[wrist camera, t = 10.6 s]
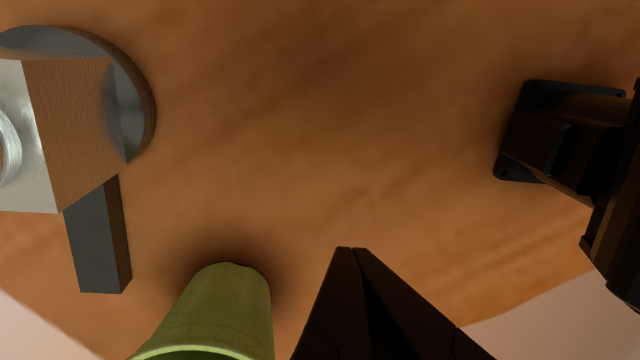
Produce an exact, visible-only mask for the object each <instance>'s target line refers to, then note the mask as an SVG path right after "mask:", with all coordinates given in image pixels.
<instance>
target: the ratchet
mask: <svg viewBox="0 0 640 360" xmlns="http://www.w3.org/2000/svg"><path fill="white" fill-rule="evenodd" d="M0 46H3V47H13V48H23V49H33V50H44V51H54V52H64V53H74V54H85V55H95V56H105V57H112V64H113V71H114V78H115V85H116V92H117V99H118V106H119V113H120V120H121V127H122V134H123V141H124V148H125V155H126V162H127V164H129V163H130V162H132V161H133V160H135V159H136V158H137V157H139V156H140V155H141V154H142V153H143V152H144V151H145V150H146V148H147V147H148V145H149V144H150V142H151V140H152V138H153V135H154V132H155V128H156V106H155V101H154V97H153V94H152V91H151V89H150V86H149V84H148V82H147V80H146V79H145V77H144V75H143V74H142V72H141V71H140V69H139V68H138V67H137V65H136V64H135V63H134V62H133V61H132V60H131V59H130V58H129V57H128V56H127V55H126V54H125V53H124V52H123V51H122V50H120V49H119V48H118V47H116V46H115V45H114V44H112V43H110V42H109V41H107V40H105V39H104V38H102V37H99V36H97V35H95V34H92V33H89V32H86V31H83V30H78V29H72V28H62V27H52V26H39V25H28V26H19V27H15V28H11V29H8V30H6V31H4V32H1V33H0ZM63 215H64V220H65V224H66V229H67V233H68V238H69V242H70V247H71V251H72V256H73V260H74V265H75V269H76V274H77V278H78V283H79V287H80V292H85V293H109V294H121V293H122V292H123V291H124V289H125V288H126V286H127V285H128V284H129V282H130V281H131V280H132V272H131V265H130V258H129V250H128V243H127V236H126V229H125V222H124V215H123V208H122V201H121V194H120V187H119V180H118V173H117V174H116V175H114V176H113V177H111V178H110V179H108V180H107V181H106V182H104V183H103V184H101V185H100V186H98V187H97V188H95V189H94V190H92V191H91V192H89V193H88V194H86V195H85V196H83V197H82V198H80V199H79V200H77V201H76V202H75V203H73V204H72V205H70V206H69V207H67V208H66V209H64V210H63Z"/></svg>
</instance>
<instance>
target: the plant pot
mask: <svg viewBox="0 0 640 360" xmlns="http://www.w3.org/2000/svg"><path fill="white" fill-rule="evenodd" d="M126 360H275V351H274V339H273V325H272V311H271V299H270V290H269V287H268V284H267V282H266V280H265V279H264V278H263V277H262V275H260V274H259V273H258V272H257V271H256V270H254V269H253V268H250V267H243V266H239V265H236V264H233V263H231V262H220V263H215V264H212V265H209V266H207V267H205V268H203V269H202V270H200V271H199V272H198V273H196V274H195V275H194V277H193V278H192V279H191V281H190V282H189V284H188V285H187V287H186V288H185V290H184V291H183V293H182V294H181V295H180V297H179V298H178V300H177V301H176V302H175V304H174V305H173V307H172V308H171V310H170V311H169V312H168V314H167V315H166V317H165V318H164V319H163V321H162V322H161V324H160V325H159V326H158V328H157V329H156V331H155V332H154V333H153V335H152V336H151V338H150V339H149V340H147V341H146V342H145V343H144V344H143V345H142V346H141V347H140V348H139V349H138V350H137V351H136V352H135V354H133V355H132V356H130V357H128V358H127V359H126Z"/></svg>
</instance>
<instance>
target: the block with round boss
mask: <svg viewBox="0 0 640 360" xmlns="http://www.w3.org/2000/svg"><path fill="white" fill-rule="evenodd" d="M126 167H127V162H126V155H125V148H124V141H123V134H122V127H121V120H120V113H119V106H118V99H117V92H116V85H115V78H114V71H113V64H112V57H105V56H95V55H85V54H74V53H64V52H54V51H44V50H33V49H23V48H13V47H3V46H0V210H1V211H20V212H38V213H57V214H58V213H60V212H61V211H63V210H64V209H66V208H67V207H69V206H70V205H72V204H73V203H75V202H76V201H77V200H79V199H80V198H82V197H83V196H85V195H86V194H88V193H89V192H91V191H92V190H94V189H95V188H97V187H98V186H100V185H101V184H103V183H104V182H106V181H107V180H108V179H110V178H111V177H113V176H114V175H116V174H117V173H119V172H120V171H122V170H123V169H125V168H126Z"/></svg>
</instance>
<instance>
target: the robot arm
mask: <svg viewBox="0 0 640 360" xmlns="http://www.w3.org/2000/svg"><path fill="white" fill-rule="evenodd" d="M533 84H534V89H533V90H532V91H531V90H530V89H531V86H532V85H533ZM633 90H636V91H635V94H634V97H633V99H627V98H625V97H626V92H625V91H624V90H622V89H616V88H608V87H600V86H591V85H583V84H575V83H566V82H558V81H550V80H541V79H529V80H527V81H526V82H525V83H524V85H523V87H522V89H521V92H520V95H519V98H518V101H517V104H516V107H515V110H514V113H513V114H512V117H511V120H510V123H509V125H508V128H507V131H506V134H505V137H504V140H503V143H502V146H501V149H500V154H499V157H498V160H497V163H496V166H495V168H494V173H493V174H494V176H495V177H496V178H498V179H499V180H505V181H517V182H528V183H540V184H548V185H550V186H552V187H553V188H555V189H557V190H559V191H561V192H563V193H564V194H566V195H568V196H570V197H572V198H574V199H575V200H577V201H579V202H581V203H583V204H585V205H586V206H588V207H590V208H592V209H594V210H593V212H592V215H591V218H590V221H589V224H588V227H587V229H586V232H585V235H582V236H581V239H580V242H579V246H580V248H581V249H582V250H583V251H584V253H585V254H586V255H587V257H588V258H589V259H590V260H591V262H592V263H593V264H594V266H595V267H596V268H597V269H598V271H599V272H600V273H601V275H602V276H603V277H604V278H605V280H606V281H607V282H606V284H605V285H606V287H607V288H608V289H609V291H610V292H611V293H612V294H614V295H615V296H616V297H618V298H619V299H620V300H622V301H623V302H624V303H625V304H626V305H627V306H629V307H630V308H631V309H633V310H634V311H635V312H636V313H638V314H640V77H637V79H636V82H635V85H634V88H633ZM615 95H616V97H614V96H615ZM503 170H504V173H503V174H501V172H502V171H503ZM500 174H501V175H500ZM290 360H497V359H495V358H494V357H493V356H491V355H490V354H489V353H488V352H486V351H485V350H484V349H483V348H482V347H481V346H479V345H478V344H477V343H476V342H475V341H473V340H472V339H471V338H470V337H469V336H467V335H466V334H465V333H464V332H463V331H462V330H461V329H459V328H458V327H457V328H456V326H455V324H453V323H452V322H451V321H450V320H449V319H448V318H446V317H445V316H444V315H443V314H442V313H441V312H440V311H438V310H437V309H436V308H435V307H434V306H433V305H431V304H430V303H429V302H428V301H427V300H426V299H424V298H423V297H422V296H421V295H420V294H419V293H418V292H416V291H415V290H414V289H413V288H412V287H411V286H409V285H408V284H407V283H406V282H405V281H404V280H402V279H401V278H400V277H399V276H398V275H397V274H396V273H394V272H393V271H392V270H391V269H390V268H389V267H387V266H386V265H385V264H384V263H383V262H382V261H380V260H379V259H378V258H377V257H376V256H375V255H374V254H372V253H371V252H370V251H369V250H368V249H366V248H358V247H353V248H352V249H351V248H350V247H341V246H338V247H336V249H335V252H334V254H333V257H332V259H331V262H330V264H329V267H328V270H327V272H326V275H325V277H324V280H323V282H322V285H321V287H320V290H319V292H318V295H317V297H316V300H315V302H314V305H313V307H312V310H311V313H310V315H309V318H308V320H307V323H306V325H305V327H304V330H303V332H302V335H301V337H300V339H299V341H298V344H297V346H296V348H295V350H294V352H293V354H292V356H291V358H290Z"/></svg>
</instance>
